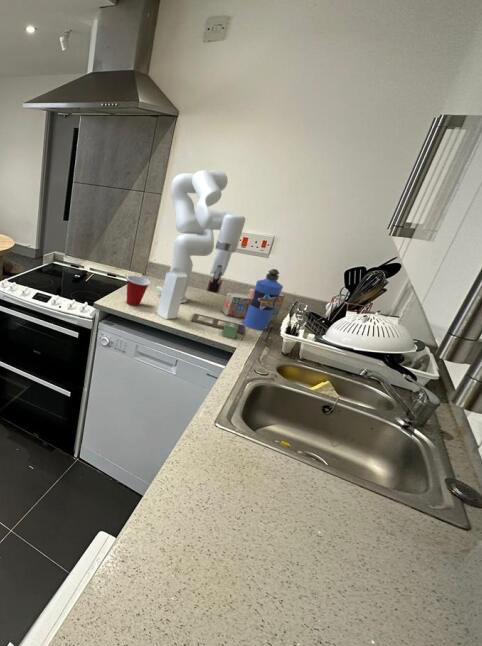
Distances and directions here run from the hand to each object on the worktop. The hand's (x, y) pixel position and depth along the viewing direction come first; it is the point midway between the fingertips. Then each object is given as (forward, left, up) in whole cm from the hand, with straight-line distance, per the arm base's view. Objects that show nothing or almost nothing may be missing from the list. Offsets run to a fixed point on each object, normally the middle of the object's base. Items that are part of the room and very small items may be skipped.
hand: (213, 289), depth 161 cm
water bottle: (+19, +12, -15) cm, 27 cm away
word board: (+5, +2, -15) cm, 16 cm away
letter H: (0, 0, 0) cm, 0 cm away
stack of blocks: (+16, +23, -15) cm, 32 cm away
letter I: (+10, -8, -15) cm, 20 cm away
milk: (-15, -4, -15) cm, 21 cm away
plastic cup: (-31, +1, -15) cm, 34 cm away
